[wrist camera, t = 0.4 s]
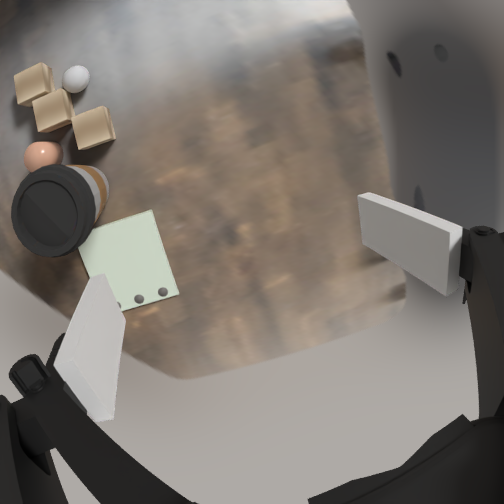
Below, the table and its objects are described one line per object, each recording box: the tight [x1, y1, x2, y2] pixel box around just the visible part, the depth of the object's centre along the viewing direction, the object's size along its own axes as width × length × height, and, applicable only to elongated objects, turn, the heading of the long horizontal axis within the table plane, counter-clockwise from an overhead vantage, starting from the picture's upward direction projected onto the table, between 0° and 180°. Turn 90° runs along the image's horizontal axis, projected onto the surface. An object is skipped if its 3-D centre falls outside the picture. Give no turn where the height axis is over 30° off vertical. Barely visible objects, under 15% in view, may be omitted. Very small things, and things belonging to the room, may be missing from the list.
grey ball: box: [62, 66, 90, 93], centre depth 30 cm, size 4×4×4 cm
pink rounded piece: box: [24, 142, 63, 172], centre depth 32 cm, size 4×4×5 cm
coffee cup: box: [11, 164, 109, 257], centre depth 30 cm, size 8×8×15 cm
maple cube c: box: [71, 106, 116, 150], centre depth 33 cm, size 4×4×4 cm
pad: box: [78, 209, 179, 311], centre depth 41 cm, size 12×11×1 cm
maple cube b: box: [32, 88, 75, 133], centre depth 31 cm, size 4×4×4 cm
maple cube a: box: [14, 62, 55, 107], centre depth 29 cm, size 4×4×4 cm
